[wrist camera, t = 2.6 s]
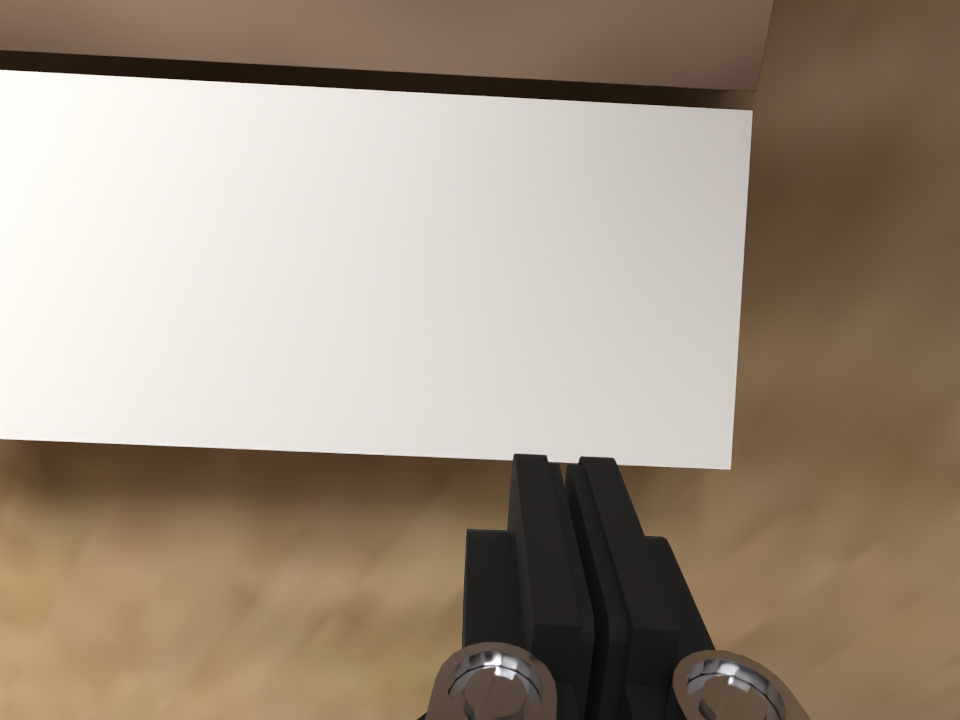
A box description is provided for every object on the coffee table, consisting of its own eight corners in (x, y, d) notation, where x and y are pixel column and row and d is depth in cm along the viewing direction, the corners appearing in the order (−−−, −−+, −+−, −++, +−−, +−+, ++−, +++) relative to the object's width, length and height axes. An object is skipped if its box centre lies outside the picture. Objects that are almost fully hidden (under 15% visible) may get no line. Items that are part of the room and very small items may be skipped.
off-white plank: (-73, 89, 20) (-133, 62, 18) (724, 132, 21) (752, 110, 19) (-78, 423, 20) (-137, 432, 18) (705, 456, 21) (730, 469, 19)
